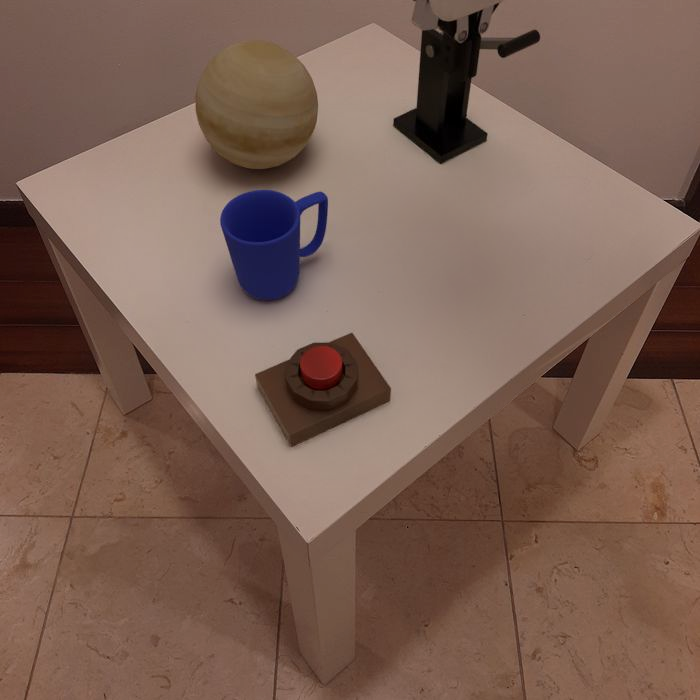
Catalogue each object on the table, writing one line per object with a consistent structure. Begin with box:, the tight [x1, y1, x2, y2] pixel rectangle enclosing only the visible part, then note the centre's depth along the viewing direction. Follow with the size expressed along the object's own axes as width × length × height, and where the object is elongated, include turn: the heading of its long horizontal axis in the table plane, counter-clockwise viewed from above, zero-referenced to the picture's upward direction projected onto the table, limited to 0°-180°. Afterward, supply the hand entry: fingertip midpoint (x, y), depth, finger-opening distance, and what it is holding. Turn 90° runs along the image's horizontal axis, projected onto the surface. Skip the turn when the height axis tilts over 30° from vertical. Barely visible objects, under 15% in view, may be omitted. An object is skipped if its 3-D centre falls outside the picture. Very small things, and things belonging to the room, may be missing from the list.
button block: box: [254, 332, 392, 447], centre depth 73 cm, size 11×8×4 cm
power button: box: [300, 346, 342, 390], centre depth 71 cm, size 4×4×2 cm
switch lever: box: [440, 29, 541, 59], centre depth 85 cm, size 14×5×2 cm, turn 36°
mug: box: [219, 189, 329, 301], centre depth 80 cm, size 8×12×10 cm
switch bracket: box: [392, 29, 489, 165], centre depth 94 cm, size 10×8×15 cm
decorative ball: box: [194, 39, 319, 170], centre depth 91 cm, size 15×15×15 cm
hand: (458, 72), depth 68 cm, fingers closed
